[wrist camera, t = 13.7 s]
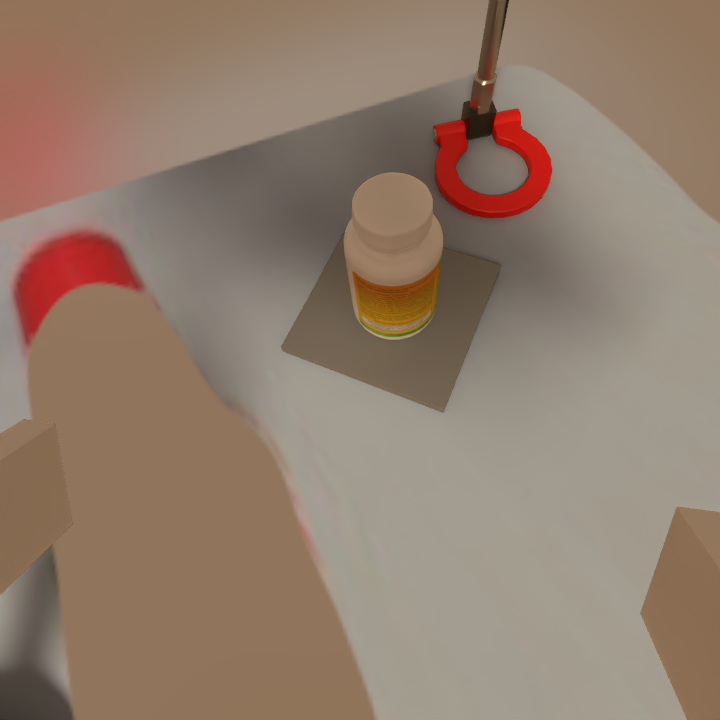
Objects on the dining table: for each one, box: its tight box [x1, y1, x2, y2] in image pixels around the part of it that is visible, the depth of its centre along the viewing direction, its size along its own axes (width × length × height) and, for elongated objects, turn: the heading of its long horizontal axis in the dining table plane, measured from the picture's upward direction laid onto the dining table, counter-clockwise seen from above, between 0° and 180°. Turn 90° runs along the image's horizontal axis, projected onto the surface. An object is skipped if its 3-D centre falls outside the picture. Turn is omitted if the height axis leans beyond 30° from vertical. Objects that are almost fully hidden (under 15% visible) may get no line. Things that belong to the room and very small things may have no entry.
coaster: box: [281, 232, 501, 412], centre depth 34 cm, size 11×11×1 cm
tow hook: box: [433, 0, 552, 218], centre depth 33 cm, size 8×13×9 cm
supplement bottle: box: [344, 172, 443, 340], centre depth 29 cm, size 5×5×10 cm
